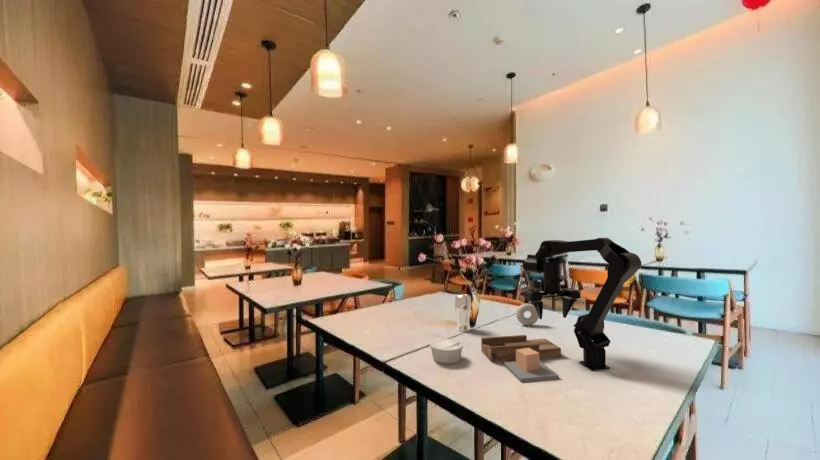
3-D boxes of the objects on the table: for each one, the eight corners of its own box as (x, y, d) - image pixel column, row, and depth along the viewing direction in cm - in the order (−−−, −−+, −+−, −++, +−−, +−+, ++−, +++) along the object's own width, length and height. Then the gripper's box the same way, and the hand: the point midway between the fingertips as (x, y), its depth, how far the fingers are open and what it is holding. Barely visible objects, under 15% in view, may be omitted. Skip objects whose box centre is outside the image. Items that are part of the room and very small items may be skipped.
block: (539, 368, 105) (539, 353, 105) (526, 371, 104) (526, 355, 104) (528, 362, 110) (528, 347, 110) (516, 365, 108) (515, 349, 108)
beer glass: (452, 328, 151) (451, 295, 151) (465, 326, 154) (464, 293, 154) (461, 333, 145) (460, 298, 145) (474, 330, 148) (474, 296, 148)
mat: (558, 378, 101) (558, 375, 101) (520, 382, 99) (520, 378, 99) (538, 362, 113) (538, 359, 113) (503, 365, 111) (503, 362, 111)
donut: (537, 324, 155) (537, 302, 155) (540, 326, 151) (539, 304, 151) (515, 324, 156) (515, 302, 156) (517, 326, 152) (516, 304, 152)
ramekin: (462, 366, 111) (461, 350, 111) (428, 364, 113) (428, 349, 113) (463, 353, 122) (463, 339, 122) (432, 352, 124) (432, 337, 124)
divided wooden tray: (561, 356, 117) (560, 342, 117) (491, 362, 114) (491, 347, 114) (545, 346, 127) (545, 333, 127) (481, 351, 124) (481, 337, 124)
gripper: (562, 271, 131) (563, 311, 131) (517, 273, 128) (517, 314, 129) (581, 275, 120) (581, 319, 120) (531, 277, 117) (532, 322, 117)
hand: (552, 318), depth 122 cm, fingers open, 9 cm apart
